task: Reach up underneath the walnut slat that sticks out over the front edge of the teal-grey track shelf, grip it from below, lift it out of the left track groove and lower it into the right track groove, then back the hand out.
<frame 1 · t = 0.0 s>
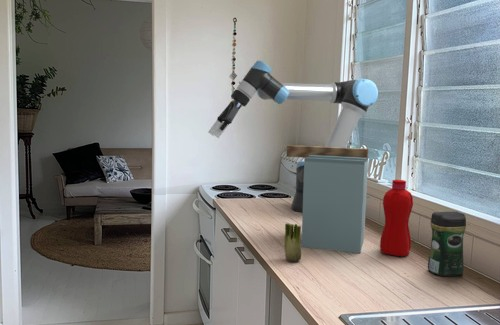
hand: (213, 135, 193), 36 cm above the kitchen counter, tool tilted 35°, fingers open, 13 cm apart
track shelf: (333, 242, 168), on the kitchen counter
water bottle: (395, 252, 159), on the kitchen counter
walnut slat: (326, 158, 170), point 30 cm above the kitchen counter, touching track shelf
coffee jar: (444, 273, 140), on the kitchen counter
fennel bulb: (292, 261, 148), on the kitchen counter
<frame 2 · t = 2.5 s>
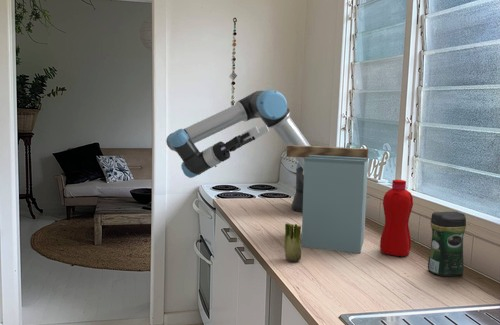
hand: (262, 128, 176), 40 cm above the kitchen counter, tool pointing upward, fingers open, 13 cm apart
nothing on the kitchen counter moved.
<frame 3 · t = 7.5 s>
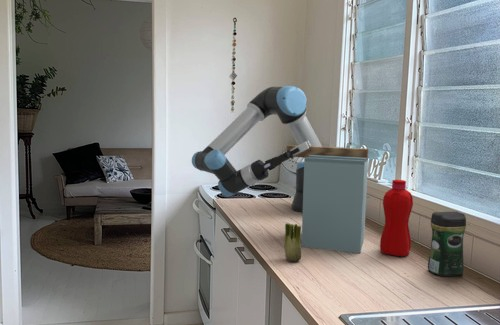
hand: (308, 144, 171), 35 cm above the kitchen counter, tool pointing upward, fingers closed on walnut slat, 4 cm apart
walnut slat: (326, 158, 170), point 30 cm above the kitchen counter, touching gripper, track shelf
everything else where it was.
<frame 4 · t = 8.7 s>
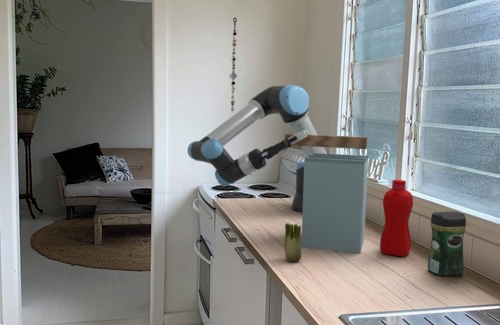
hand: (306, 132, 169), 39 cm above the kitchen counter, tool pointing upward, fingers closed on walnut slat, 4 cm apart
walnut slat: (325, 146, 167), point 34 cm above the kitchen counter, touching gripper
everything else where it was.
when the fingers open (36 cm above the kitchen counter, at t = 10.3 s): walnut slat stays where it is, resting on track shelf.
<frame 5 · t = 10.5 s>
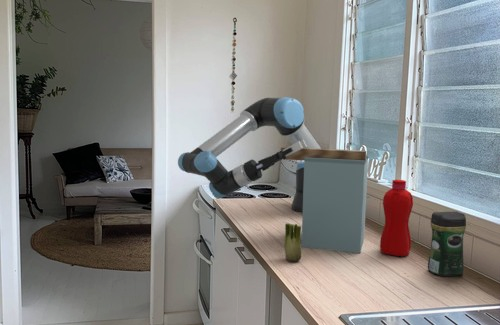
hand: (302, 144, 163), 36 cm above the kitchen counter, tool pointing upward, fingers open, 7 cm apart
walnut slat: (322, 160, 161), point 30 cm above the kitchen counter, touching track shelf
everything else where it was.
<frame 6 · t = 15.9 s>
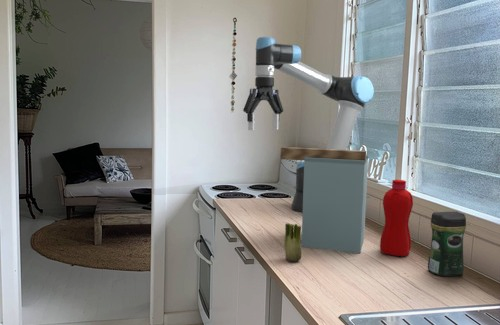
hand: (263, 129, 190), 39 cm above the kitchen counter, tool pointing down, fingers open, 13 cm apart
nothing on the kitchen counter moved.
at the end: walnut slat 0.8 cm from the target spot, point 30.0 cm above the kitchen counter; walnut slat tilted 0°; the gripper is holding nothing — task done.
